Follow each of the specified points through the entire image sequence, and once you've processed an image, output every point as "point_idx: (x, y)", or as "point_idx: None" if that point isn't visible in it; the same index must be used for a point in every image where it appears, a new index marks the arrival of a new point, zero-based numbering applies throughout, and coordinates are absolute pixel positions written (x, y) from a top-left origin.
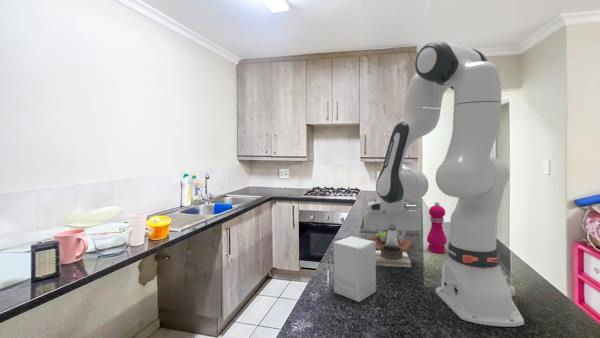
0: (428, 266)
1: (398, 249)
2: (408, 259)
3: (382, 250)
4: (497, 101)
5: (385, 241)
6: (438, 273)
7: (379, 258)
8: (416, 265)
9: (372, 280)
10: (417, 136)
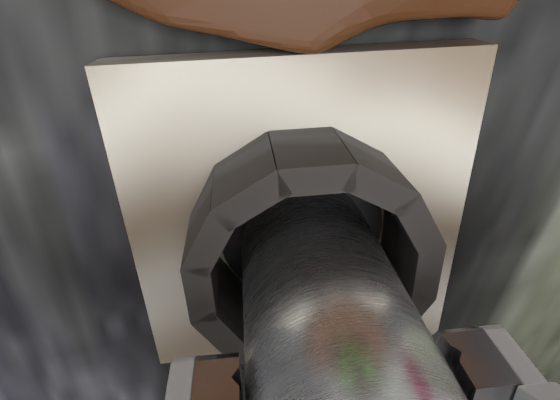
0: (554, 267)
1: (399, 224)
2: (441, 273)
3: (207, 329)
4: None
5: (243, 396)
6: (555, 351)
7: (185, 306)
8: (474, 269)
9: None
10: None
